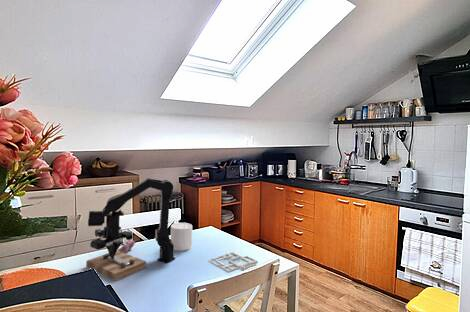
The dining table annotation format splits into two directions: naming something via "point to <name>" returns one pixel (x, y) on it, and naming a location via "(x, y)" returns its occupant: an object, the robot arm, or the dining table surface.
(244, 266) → the floor plan model
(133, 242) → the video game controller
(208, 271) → the dining table surface
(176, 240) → the cup
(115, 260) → the strap
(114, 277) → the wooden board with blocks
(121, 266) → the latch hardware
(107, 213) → the robot arm
